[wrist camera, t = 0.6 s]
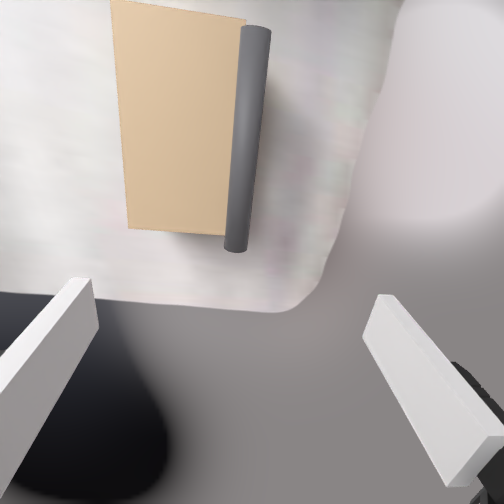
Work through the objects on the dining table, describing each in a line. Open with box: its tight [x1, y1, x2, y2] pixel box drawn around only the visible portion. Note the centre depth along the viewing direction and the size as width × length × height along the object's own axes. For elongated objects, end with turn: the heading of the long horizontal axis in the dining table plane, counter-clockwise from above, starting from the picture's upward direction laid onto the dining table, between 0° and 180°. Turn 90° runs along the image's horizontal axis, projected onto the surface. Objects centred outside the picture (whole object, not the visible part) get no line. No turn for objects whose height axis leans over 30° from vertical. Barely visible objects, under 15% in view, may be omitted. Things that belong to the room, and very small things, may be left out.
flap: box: [110, 0, 271, 253], centre depth 23 cm, size 18×12×9 cm, turn 174°
